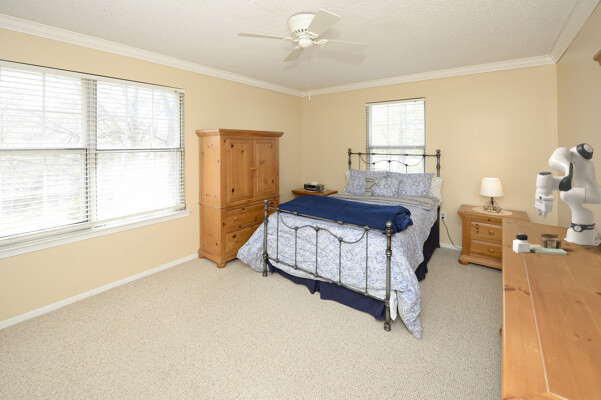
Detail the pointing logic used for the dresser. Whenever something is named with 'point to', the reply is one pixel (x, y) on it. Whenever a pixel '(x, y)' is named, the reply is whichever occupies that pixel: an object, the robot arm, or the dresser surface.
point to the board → (547, 250)
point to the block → (551, 244)
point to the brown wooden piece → (550, 238)
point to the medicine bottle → (521, 243)
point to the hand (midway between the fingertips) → (542, 216)
